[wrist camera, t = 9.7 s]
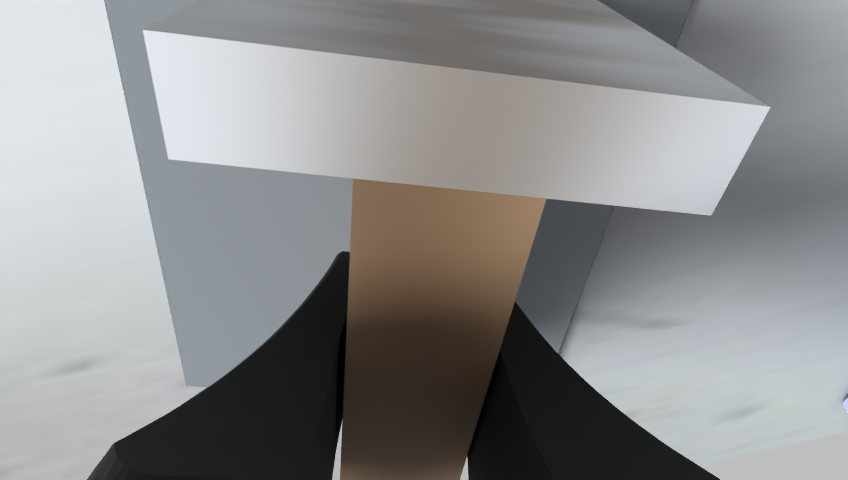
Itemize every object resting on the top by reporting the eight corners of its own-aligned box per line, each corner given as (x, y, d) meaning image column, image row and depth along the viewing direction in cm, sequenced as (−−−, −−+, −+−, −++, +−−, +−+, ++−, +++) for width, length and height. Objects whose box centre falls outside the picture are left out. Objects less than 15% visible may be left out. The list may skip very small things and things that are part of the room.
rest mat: (691, -30, 12) (703, -28, 11) (533, 398, 21) (536, 410, 20) (94, -116, 11) (79, -118, 10) (192, 373, 20) (186, 385, 19)
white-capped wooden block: (594, -2, 11) (770, 106, 6) (493, 340, 18) (528, 549, 12) (288, -44, 11) (141, 29, 5) (300, 325, 17) (242, 536, 12)
